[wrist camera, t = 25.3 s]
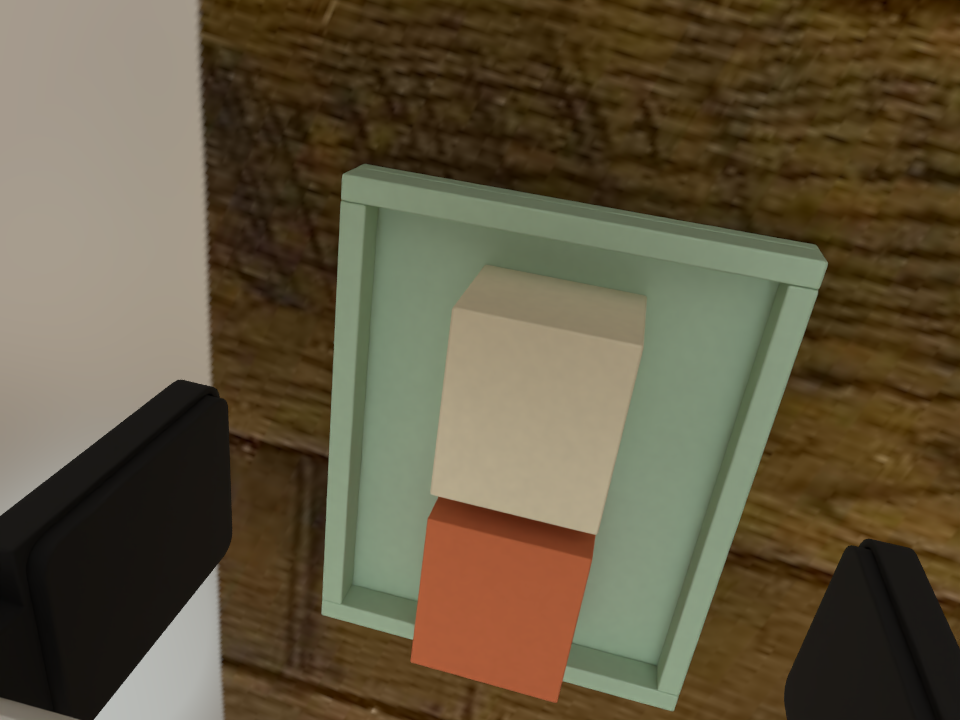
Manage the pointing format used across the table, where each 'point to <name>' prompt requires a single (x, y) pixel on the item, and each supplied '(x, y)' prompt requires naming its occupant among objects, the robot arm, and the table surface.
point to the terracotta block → (499, 597)
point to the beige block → (536, 395)
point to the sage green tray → (650, 419)
